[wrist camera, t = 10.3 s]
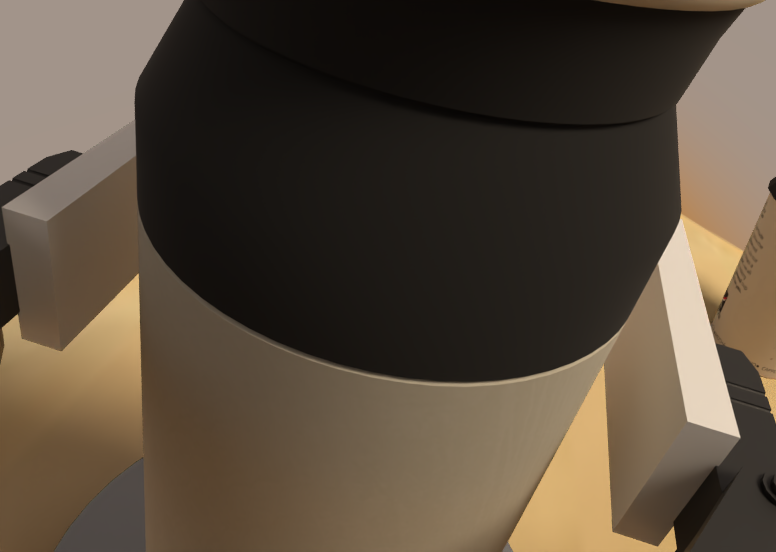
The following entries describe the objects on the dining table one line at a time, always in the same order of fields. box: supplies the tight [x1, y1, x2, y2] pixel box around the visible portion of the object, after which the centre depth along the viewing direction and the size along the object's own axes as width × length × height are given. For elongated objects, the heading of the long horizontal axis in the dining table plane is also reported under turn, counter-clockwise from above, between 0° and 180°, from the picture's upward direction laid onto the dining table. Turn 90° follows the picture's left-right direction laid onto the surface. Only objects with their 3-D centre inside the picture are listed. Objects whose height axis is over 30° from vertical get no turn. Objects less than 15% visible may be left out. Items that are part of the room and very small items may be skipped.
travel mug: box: [135, 0, 765, 552], centre depth 13 cm, size 8×8×18 cm
